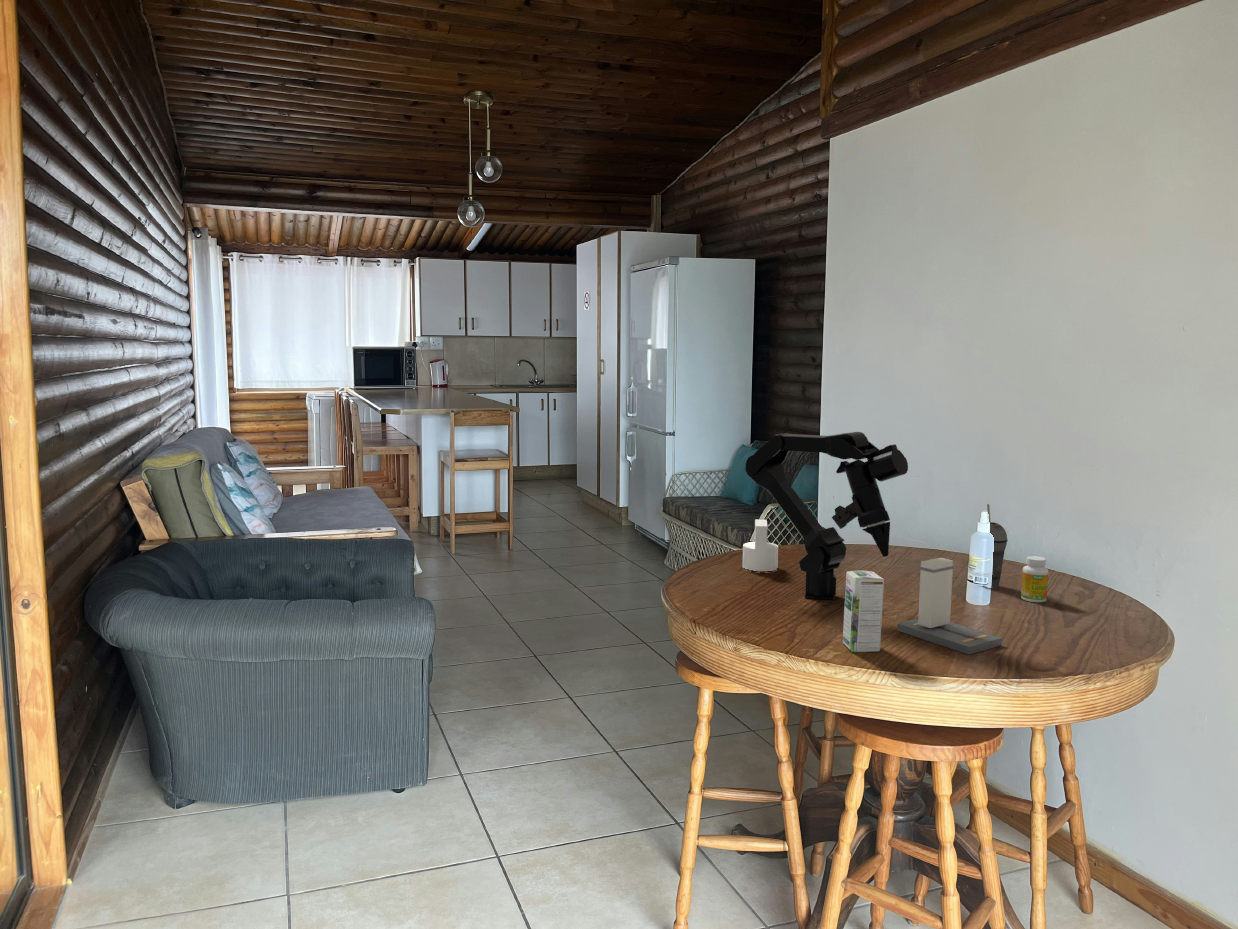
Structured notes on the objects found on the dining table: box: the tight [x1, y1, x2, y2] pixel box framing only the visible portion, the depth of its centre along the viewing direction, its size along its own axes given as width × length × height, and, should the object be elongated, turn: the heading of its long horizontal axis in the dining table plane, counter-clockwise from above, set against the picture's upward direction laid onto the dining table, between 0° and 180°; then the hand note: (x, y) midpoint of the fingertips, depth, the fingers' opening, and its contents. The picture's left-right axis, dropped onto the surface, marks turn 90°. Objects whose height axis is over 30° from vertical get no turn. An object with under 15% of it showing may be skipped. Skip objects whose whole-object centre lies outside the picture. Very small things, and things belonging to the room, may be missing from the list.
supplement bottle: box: [1020, 555, 1049, 603], centre depth 207 cm, size 5×5×10 cm
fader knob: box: [917, 557, 954, 628], centre depth 182 cm, size 3×6×13 cm, turn 123°
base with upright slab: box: [742, 518, 779, 572], centre depth 235 cm, size 9×9×12 cm
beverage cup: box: [986, 503, 1009, 589], centre depth 217 cm, size 7×7×20 cm
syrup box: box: [842, 570, 885, 653], centre depth 173 cm, size 6×6×14 cm
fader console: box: [896, 618, 1003, 655], centre depth 180 cm, size 17×10×2 cm, turn 33°
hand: (885, 556), depth 196 cm, fingers closed
